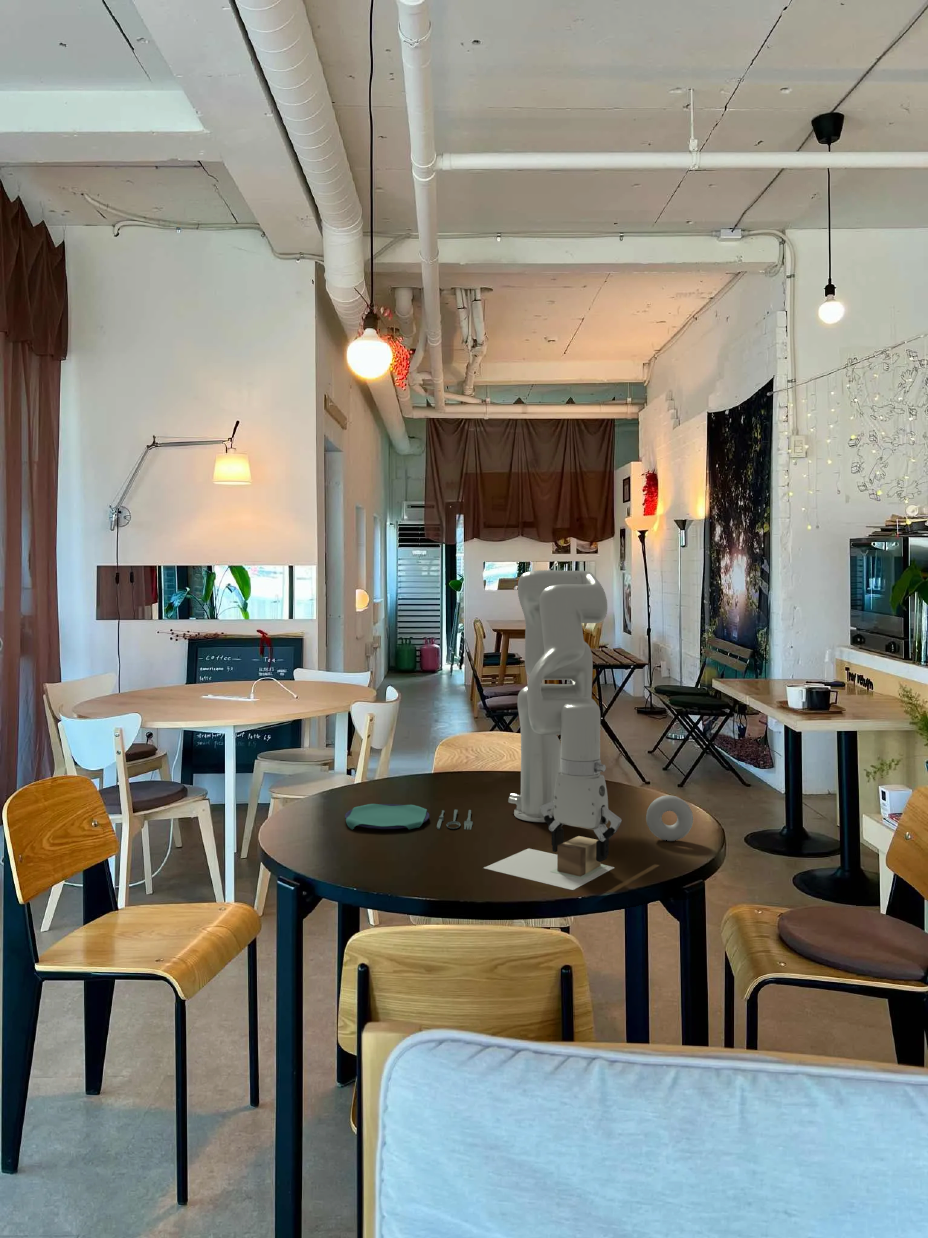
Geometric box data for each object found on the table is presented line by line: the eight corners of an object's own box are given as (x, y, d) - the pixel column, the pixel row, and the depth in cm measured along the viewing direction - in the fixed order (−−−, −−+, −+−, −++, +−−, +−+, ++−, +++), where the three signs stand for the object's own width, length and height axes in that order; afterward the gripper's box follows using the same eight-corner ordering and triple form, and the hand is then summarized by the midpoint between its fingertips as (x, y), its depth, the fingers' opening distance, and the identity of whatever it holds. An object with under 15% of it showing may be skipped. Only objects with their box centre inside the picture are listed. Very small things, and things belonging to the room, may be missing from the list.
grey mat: (483, 871, 171) (483, 867, 171) (528, 851, 184) (528, 848, 184) (572, 893, 159) (572, 889, 159) (614, 870, 172) (614, 867, 172)
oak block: (578, 861, 175) (578, 836, 175) (600, 865, 172) (600, 840, 172) (557, 871, 169) (557, 845, 169) (580, 876, 166) (580, 850, 166)
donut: (645, 842, 191) (646, 796, 190) (645, 837, 194) (645, 792, 194) (693, 844, 189) (694, 798, 188) (692, 840, 192) (692, 794, 192)
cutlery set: (352, 810, 217) (352, 801, 217) (474, 814, 216) (474, 804, 216) (337, 834, 197) (337, 824, 197) (471, 838, 196) (471, 828, 196)
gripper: (629, 770, 168) (629, 859, 168) (552, 758, 178) (551, 842, 179) (611, 776, 162) (610, 869, 162) (531, 764, 172) (531, 851, 173)
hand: (579, 855), depth 171 cm, fingers open, 9 cm apart
